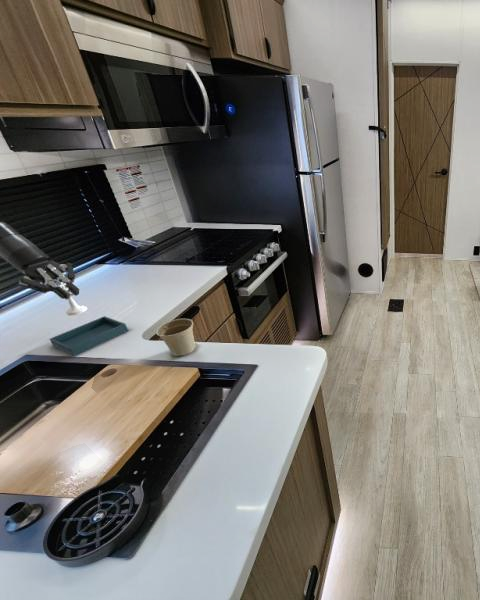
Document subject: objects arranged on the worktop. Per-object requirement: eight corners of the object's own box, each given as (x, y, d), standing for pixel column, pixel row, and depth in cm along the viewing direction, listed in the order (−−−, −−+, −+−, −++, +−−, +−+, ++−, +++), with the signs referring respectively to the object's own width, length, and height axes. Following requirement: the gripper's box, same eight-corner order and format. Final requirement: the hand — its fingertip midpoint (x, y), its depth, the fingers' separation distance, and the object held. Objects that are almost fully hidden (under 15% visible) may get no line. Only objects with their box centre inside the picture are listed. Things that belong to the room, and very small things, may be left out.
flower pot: (186, 361, 96) (176, 337, 92) (158, 358, 98) (147, 334, 94) (208, 343, 105) (200, 319, 101) (182, 340, 106) (173, 317, 102)
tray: (74, 356, 99) (69, 348, 98) (53, 346, 104) (49, 338, 103) (128, 330, 111) (125, 323, 110) (107, 322, 116) (104, 316, 115)
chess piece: (62, 314, 102) (45, 285, 97) (79, 306, 106) (64, 278, 101) (74, 316, 100) (58, 287, 96) (91, 308, 105) (76, 280, 100)
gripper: (-8, 254, 89) (48, 299, 92) (51, 238, 101) (99, 279, 104) (-10, 270, 93) (44, 313, 96) (48, 253, 105) (94, 292, 108)
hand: (72, 295), depth 100 cm, fingers closed on chess piece
